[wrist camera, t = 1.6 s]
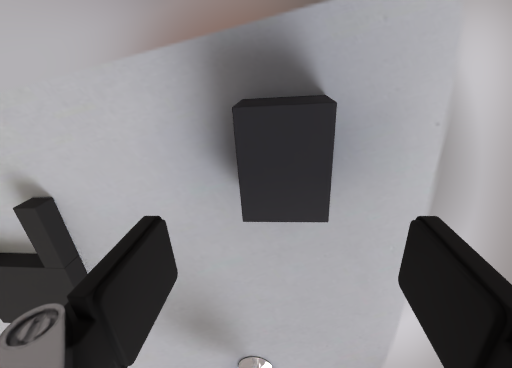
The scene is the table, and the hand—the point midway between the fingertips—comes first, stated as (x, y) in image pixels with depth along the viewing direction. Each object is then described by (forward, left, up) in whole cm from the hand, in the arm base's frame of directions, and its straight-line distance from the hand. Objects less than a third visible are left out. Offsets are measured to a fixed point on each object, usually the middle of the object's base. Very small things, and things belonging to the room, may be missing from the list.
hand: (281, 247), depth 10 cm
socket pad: (+12, -28, -11) cm, 32 cm away
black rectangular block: (0, 0, -11) cm, 11 cm away
